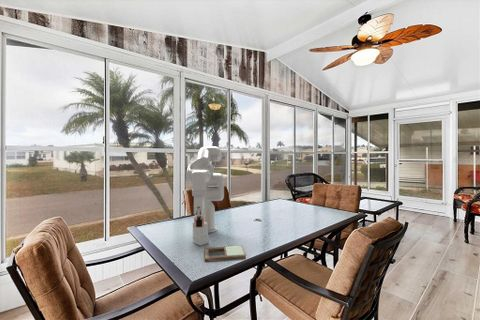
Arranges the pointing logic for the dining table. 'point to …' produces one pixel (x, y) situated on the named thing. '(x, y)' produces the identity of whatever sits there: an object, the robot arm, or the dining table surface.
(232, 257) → the hole board
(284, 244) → the dining table surface
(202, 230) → the small box
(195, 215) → the terracotta cube
